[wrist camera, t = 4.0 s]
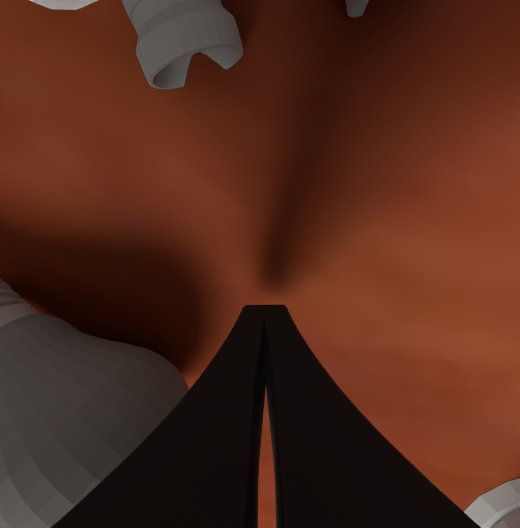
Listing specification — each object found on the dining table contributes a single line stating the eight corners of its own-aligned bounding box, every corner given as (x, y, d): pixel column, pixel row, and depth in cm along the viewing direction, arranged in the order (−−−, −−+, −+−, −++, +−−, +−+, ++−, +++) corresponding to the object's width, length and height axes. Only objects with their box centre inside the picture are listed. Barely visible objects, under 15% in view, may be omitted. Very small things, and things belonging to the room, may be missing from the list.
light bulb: (-346, 410, 5) (32, 729, 6) (-87, 202, 6) (231, 496, 6) (-37, 340, 11) (135, 496, 11) (72, 241, 12) (231, 391, 12)
